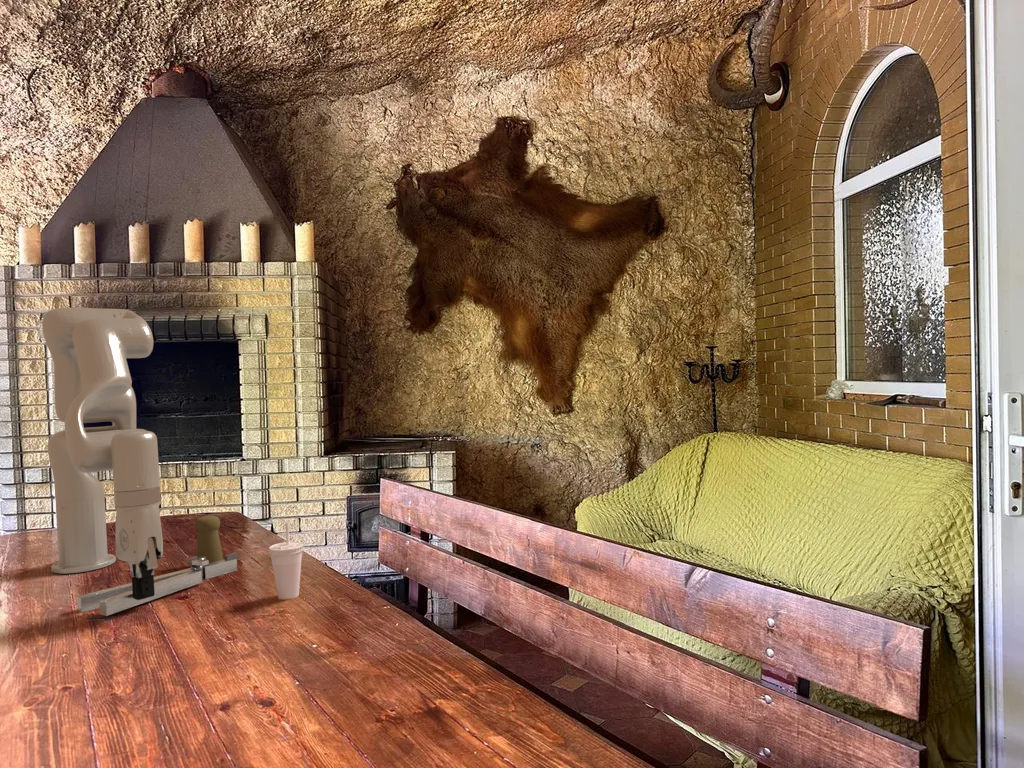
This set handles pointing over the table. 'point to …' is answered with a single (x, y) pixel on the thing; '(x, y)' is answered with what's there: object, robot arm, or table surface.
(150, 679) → the table surface
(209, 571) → the tongs fixed
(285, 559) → the smoothie
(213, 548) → the olive pepper mill
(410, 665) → the table surface
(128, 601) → the tongs jaw
